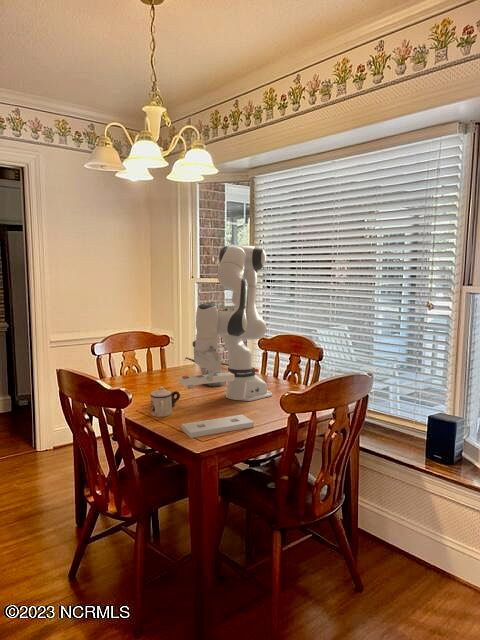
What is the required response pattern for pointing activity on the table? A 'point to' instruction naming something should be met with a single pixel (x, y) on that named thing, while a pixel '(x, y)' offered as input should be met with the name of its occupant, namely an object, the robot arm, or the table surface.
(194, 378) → the power strip
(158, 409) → the teacup with lid
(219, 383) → the coffee pot
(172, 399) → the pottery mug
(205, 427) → the plate
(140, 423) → the table surface
